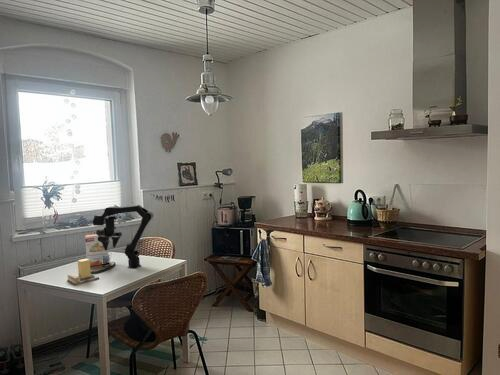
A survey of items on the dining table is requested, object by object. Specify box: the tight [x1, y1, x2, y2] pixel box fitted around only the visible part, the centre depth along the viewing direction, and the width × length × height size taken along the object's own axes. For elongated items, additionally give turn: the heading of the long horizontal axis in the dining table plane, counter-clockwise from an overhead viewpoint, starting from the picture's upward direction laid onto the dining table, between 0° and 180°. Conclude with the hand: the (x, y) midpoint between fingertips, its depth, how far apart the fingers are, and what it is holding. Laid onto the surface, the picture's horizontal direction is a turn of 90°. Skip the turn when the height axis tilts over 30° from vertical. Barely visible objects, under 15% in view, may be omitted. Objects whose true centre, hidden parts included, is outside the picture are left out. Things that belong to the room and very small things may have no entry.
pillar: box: [77, 258, 91, 279], centre depth 223 cm, size 5×5×11 cm
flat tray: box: [66, 273, 100, 286], centre depth 223 cm, size 14×12×4 cm
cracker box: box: [84, 233, 109, 267], centre depth 257 cm, size 14×6×21 cm, turn 112°
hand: (110, 249), depth 247 cm, fingers open, 9 cm apart
